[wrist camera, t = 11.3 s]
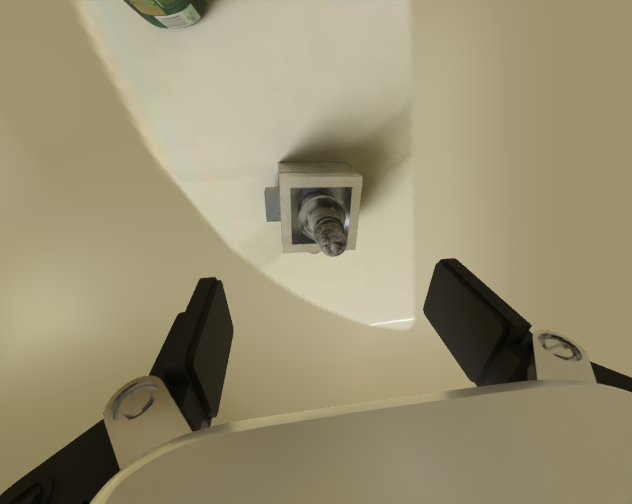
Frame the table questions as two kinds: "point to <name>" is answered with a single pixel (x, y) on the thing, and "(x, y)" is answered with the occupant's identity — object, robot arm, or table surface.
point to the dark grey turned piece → (323, 221)
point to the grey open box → (299, 183)
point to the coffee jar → (169, 11)
